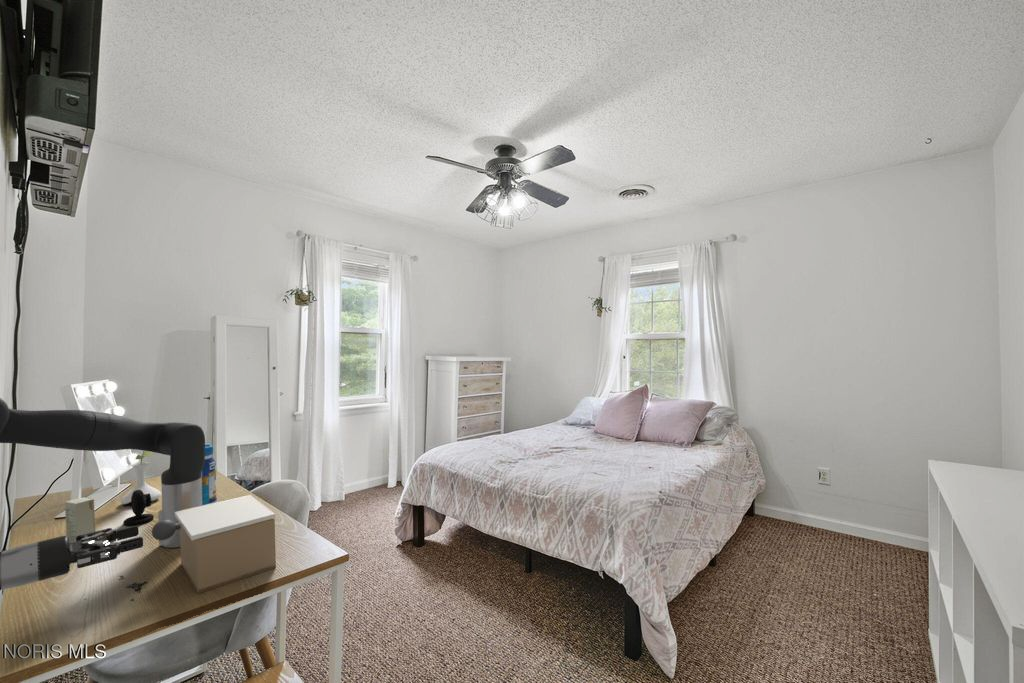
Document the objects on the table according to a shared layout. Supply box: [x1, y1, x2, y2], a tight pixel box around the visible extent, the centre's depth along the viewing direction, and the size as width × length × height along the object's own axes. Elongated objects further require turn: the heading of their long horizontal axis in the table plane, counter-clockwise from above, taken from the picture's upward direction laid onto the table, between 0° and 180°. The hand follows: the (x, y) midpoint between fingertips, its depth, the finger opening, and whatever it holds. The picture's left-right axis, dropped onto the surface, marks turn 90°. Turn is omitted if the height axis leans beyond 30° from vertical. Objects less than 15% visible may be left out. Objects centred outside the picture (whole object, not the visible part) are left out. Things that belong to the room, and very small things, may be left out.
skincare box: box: [64, 497, 97, 543], centre depth 129 cm, size 6×4×12 cm
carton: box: [180, 518, 277, 594], centre depth 114 cm, size 16×20×12 cm
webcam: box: [122, 490, 155, 527], centre depth 144 cm, size 8×8×10 cm
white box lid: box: [151, 494, 276, 541], centre depth 112 cm, size 23×21×4 cm
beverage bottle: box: [201, 444, 218, 506], centre depth 159 cm, size 8×8×20 cm
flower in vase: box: [120, 450, 162, 505], centre depth 163 cm, size 13×11×25 cm
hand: (140, 535), depth 102 cm, fingers open, 8 cm apart
